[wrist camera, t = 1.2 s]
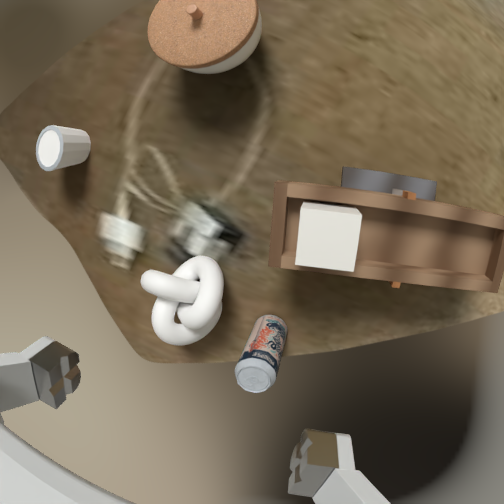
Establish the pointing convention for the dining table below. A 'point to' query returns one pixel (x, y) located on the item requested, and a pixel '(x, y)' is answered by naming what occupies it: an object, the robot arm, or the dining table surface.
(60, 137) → the shot glass
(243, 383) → the beer can
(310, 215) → the white block
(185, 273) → the white knot sculpture
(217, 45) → the lidded bowl
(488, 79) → the dining table surface
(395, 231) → the brown wooden tray
